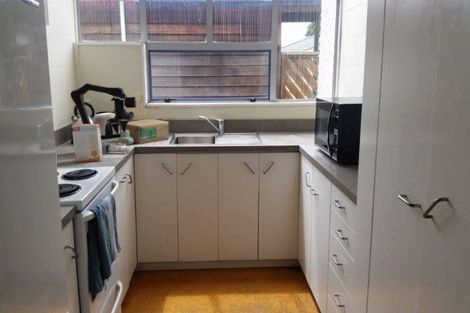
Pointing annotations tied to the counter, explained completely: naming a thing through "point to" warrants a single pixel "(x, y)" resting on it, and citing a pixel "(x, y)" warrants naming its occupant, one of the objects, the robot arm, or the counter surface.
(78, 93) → the robot arm
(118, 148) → the cartridge
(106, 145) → the housing
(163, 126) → the paper package
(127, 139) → the air freshener
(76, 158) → the cracker box
